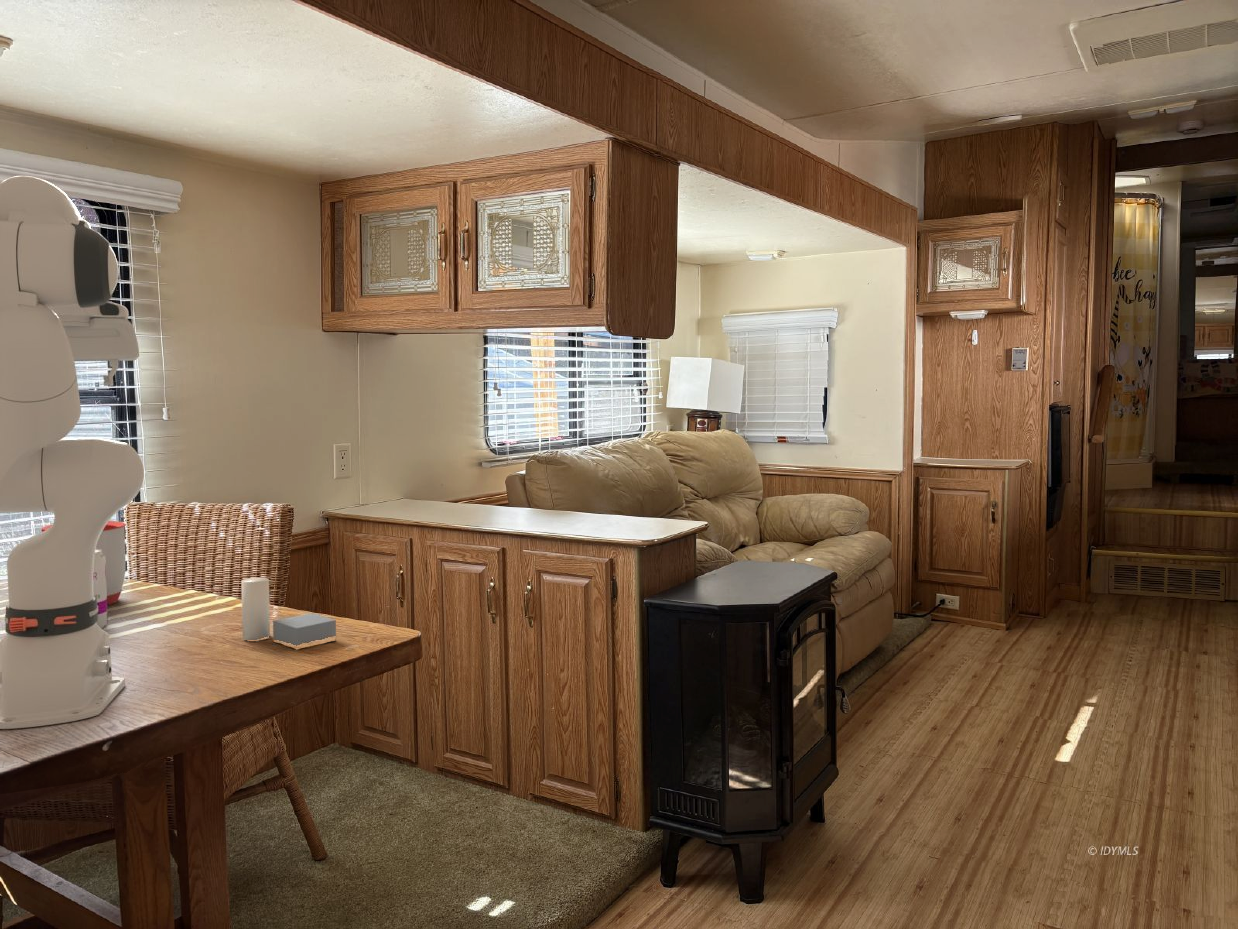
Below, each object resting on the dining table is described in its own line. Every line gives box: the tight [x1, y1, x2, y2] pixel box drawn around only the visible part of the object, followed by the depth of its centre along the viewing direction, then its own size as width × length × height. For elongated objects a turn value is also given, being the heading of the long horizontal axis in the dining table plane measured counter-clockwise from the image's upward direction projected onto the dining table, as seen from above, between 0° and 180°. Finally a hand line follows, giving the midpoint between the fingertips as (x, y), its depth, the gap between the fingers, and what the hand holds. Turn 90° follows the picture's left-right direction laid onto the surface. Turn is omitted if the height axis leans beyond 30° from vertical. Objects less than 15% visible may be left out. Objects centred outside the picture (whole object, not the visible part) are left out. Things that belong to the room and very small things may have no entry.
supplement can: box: [93, 549, 109, 629], centre depth 180 cm, size 8×8×15 cm
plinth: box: [272, 612, 337, 646], centre depth 173 cm, size 8×8×4 cm
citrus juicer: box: [41, 520, 127, 606], centre depth 199 cm, size 16×17×20 cm
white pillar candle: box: [240, 577, 271, 640], centre depth 175 cm, size 5×5×11 cm
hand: (78, 386), depth 168 cm, fingers open, 8 cm apart
